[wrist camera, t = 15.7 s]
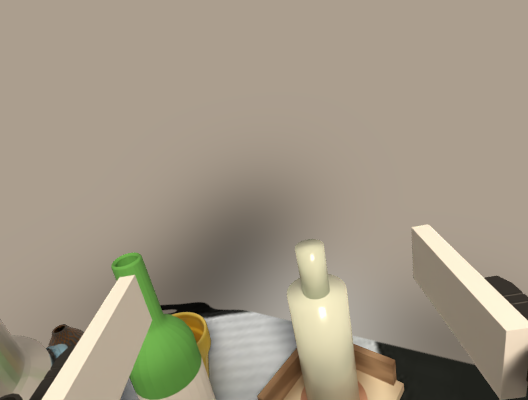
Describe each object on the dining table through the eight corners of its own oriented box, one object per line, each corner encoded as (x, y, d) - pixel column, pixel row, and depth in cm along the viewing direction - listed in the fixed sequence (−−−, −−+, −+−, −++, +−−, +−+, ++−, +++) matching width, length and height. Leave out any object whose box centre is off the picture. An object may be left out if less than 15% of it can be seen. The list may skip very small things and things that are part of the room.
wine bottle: (206, 504, 40) (119, 290, 29) (159, 474, 44) (67, 276, 34) (242, 441, 46) (181, 243, 36) (198, 419, 51) (130, 236, 40)
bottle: (297, 407, 48) (265, 255, 39) (324, 370, 53) (300, 227, 44) (344, 434, 43) (320, 270, 35) (368, 391, 48) (352, 237, 39)
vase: (95, 345, 70) (79, 310, 66) (99, 367, 64) (81, 330, 61) (57, 363, 67) (38, 327, 64) (57, 388, 61) (36, 350, 58)
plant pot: (226, 352, 61) (212, 307, 58) (214, 408, 52) (197, 358, 48) (169, 358, 63) (153, 314, 59) (148, 412, 53) (126, 364, 50)
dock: (264, 422, 48) (257, 396, 47) (317, 351, 58) (313, 328, 56) (359, 485, 39) (355, 456, 38) (404, 389, 49) (402, 363, 47)
